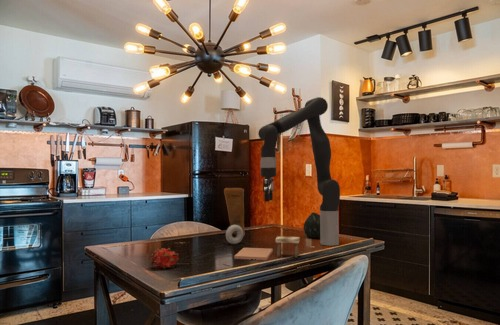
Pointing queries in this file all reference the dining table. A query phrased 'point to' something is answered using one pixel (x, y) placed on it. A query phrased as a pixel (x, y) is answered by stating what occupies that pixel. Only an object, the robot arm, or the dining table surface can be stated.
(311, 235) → the squash
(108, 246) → the dining table surface
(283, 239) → the stool
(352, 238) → the dining table surface
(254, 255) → the mat
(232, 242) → the donut
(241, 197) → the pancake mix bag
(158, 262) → the dragon fruit
